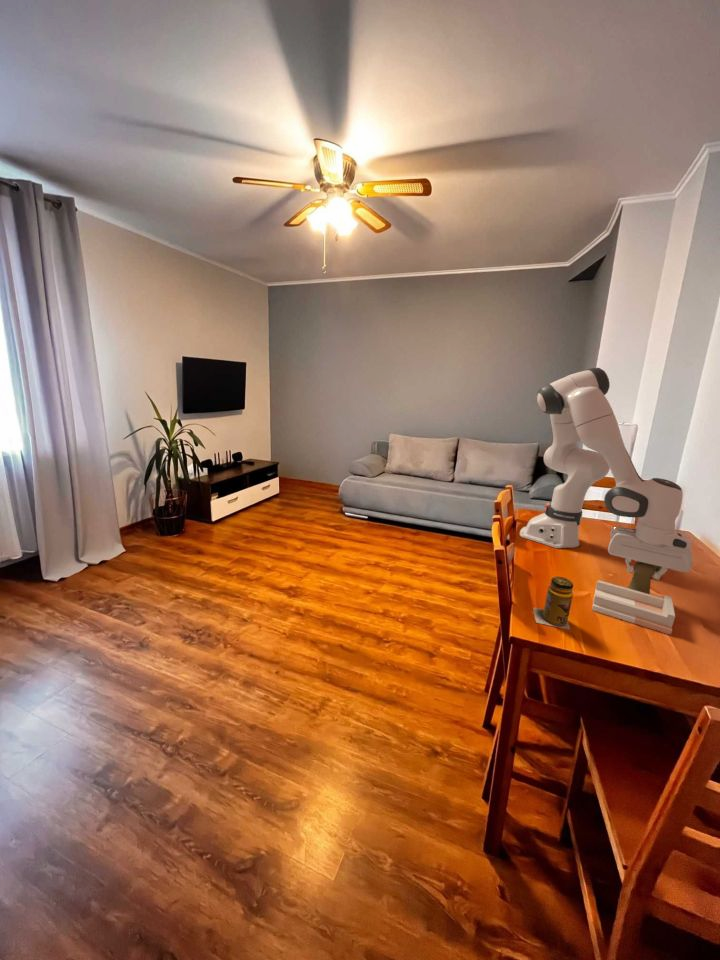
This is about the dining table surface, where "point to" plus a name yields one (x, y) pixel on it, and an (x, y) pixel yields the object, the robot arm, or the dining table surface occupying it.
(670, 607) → the white tray
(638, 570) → the cork
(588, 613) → the dining table surface
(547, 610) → the condiment
